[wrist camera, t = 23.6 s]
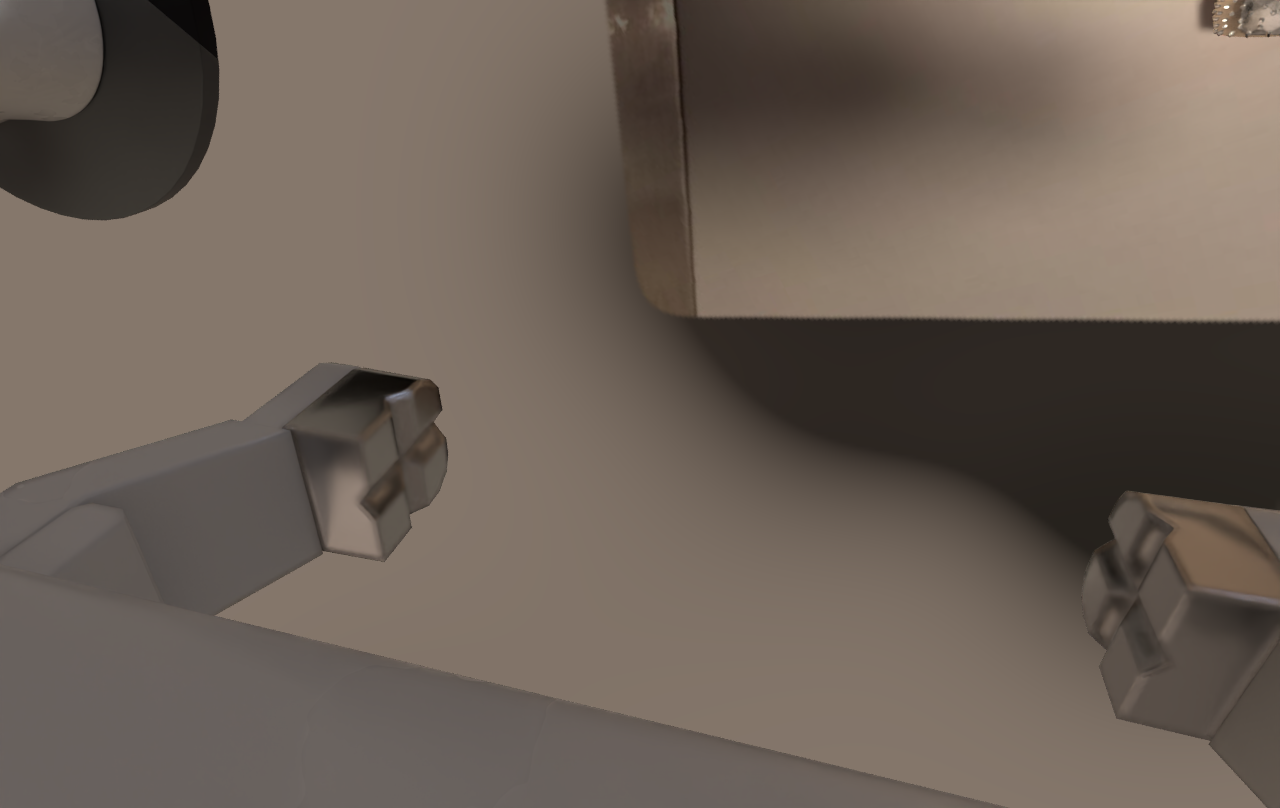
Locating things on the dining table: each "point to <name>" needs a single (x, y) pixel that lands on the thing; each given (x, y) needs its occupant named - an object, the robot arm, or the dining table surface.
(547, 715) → the robot arm
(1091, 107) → the dining table surface
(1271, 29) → the toy car
